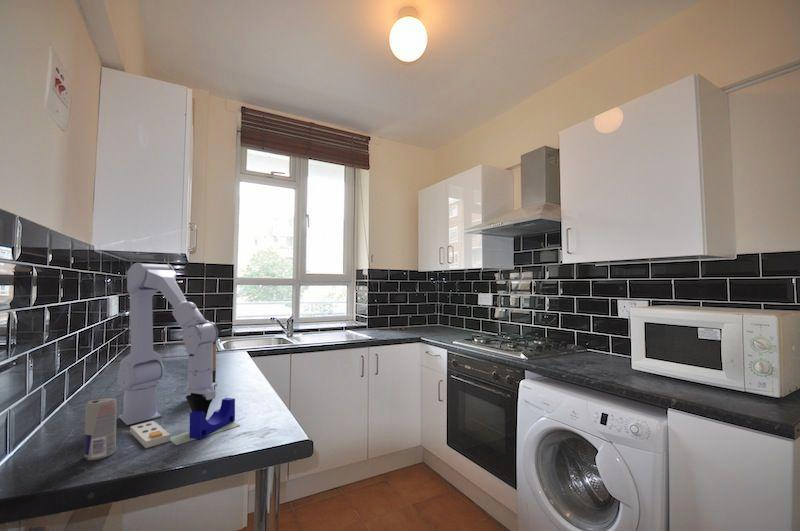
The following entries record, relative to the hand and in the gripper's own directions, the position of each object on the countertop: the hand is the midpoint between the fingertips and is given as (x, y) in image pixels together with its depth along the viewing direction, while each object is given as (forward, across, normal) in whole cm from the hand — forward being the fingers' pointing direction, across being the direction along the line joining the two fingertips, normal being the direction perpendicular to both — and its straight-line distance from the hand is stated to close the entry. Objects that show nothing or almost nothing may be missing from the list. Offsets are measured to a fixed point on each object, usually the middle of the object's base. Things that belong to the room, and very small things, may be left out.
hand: (199, 422), depth 94 cm
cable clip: (+2, -3, -2) cm, 4 cm away
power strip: (+2, +4, +10) cm, 11 cm away
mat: (+2, -4, 0) cm, 4 cm away
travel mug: (+2, +28, -11) cm, 31 cm away
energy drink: (+2, +1, +20) cm, 20 cm away
